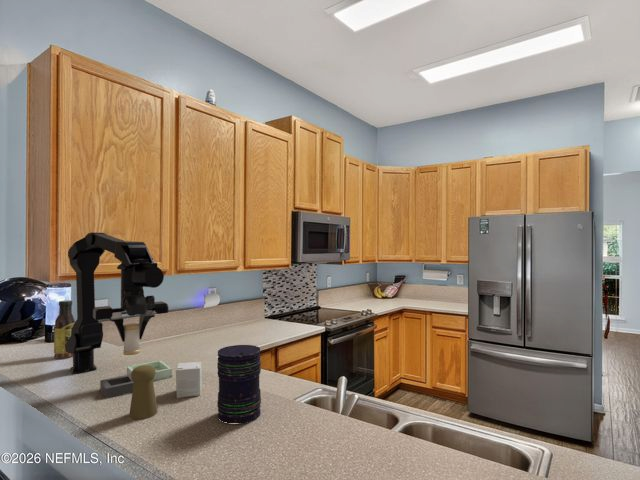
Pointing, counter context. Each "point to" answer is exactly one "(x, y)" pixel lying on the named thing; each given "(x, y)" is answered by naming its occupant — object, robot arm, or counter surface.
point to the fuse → (131, 339)
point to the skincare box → (188, 379)
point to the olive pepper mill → (143, 393)
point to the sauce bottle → (63, 329)
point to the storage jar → (239, 383)
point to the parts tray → (159, 366)
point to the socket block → (116, 386)
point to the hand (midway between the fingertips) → (131, 340)
